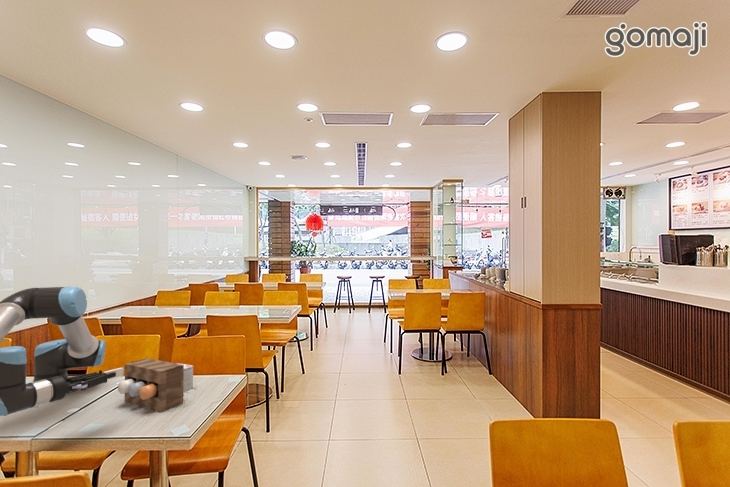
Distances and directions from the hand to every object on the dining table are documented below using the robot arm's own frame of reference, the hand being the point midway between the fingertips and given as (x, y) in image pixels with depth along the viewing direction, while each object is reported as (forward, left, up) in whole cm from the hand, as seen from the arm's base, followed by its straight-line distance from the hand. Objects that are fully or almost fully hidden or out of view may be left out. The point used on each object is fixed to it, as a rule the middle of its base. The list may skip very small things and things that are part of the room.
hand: (122, 371), depth 145 cm
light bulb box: (-12, +34, -19) cm, 41 cm away
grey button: (-7, +12, -13) cm, 20 cm away
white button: (-14, +12, -13) cm, 23 cm away
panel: (-7, +18, -19) cm, 27 cm away
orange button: (0, +12, -13) cm, 18 cm away
